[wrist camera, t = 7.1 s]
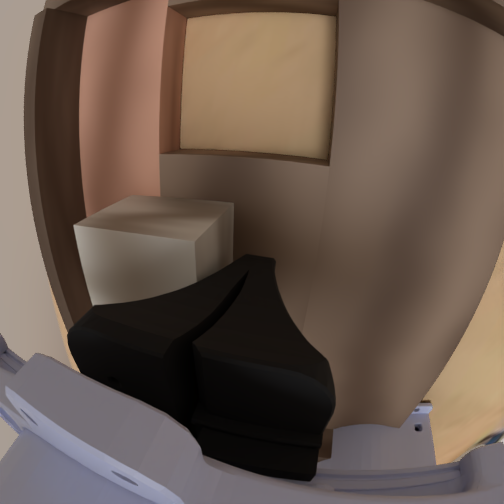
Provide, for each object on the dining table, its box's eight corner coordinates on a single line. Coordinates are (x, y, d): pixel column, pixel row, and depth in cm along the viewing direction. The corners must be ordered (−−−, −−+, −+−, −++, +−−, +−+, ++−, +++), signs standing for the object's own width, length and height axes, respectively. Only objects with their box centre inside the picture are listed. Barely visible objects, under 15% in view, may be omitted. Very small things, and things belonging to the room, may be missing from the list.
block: (233, 202, 12) (194, 241, 8) (232, 304, 14) (203, 362, 10) (132, 194, 12) (73, 224, 9) (143, 285, 15) (100, 331, 11)
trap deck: (501, 37, 6) (556, 21, 2) (389, 417, 18) (392, 469, 14) (99, 13, 10) (38, -1, 6) (134, 369, 22) (106, 409, 18)
